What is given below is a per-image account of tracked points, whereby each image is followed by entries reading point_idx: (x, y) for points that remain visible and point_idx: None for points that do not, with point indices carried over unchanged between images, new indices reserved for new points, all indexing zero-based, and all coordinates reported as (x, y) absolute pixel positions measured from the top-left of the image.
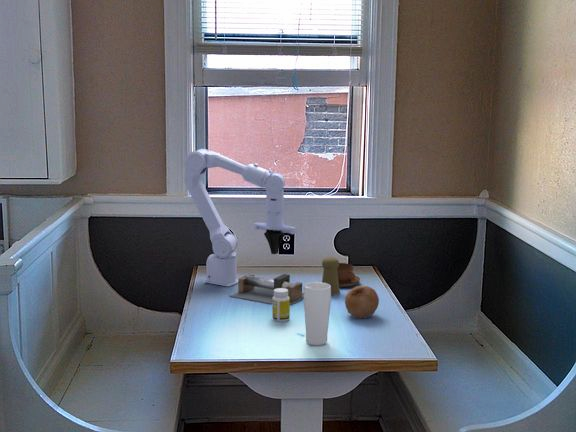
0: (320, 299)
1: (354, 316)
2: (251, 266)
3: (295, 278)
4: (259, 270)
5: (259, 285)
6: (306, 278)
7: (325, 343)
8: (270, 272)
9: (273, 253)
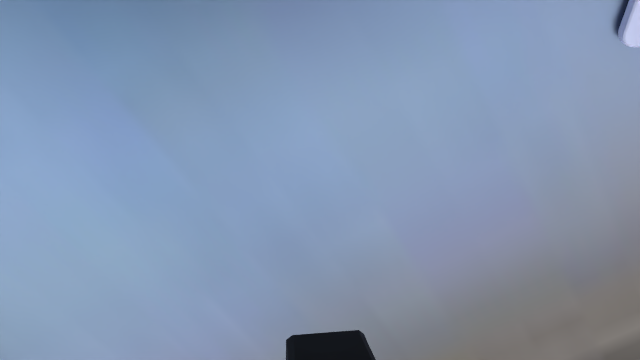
0: None
1: None
2: (637, 356)
3: (233, 316)
4: (560, 325)
5: None
6: (163, 351)
7: None
8: (470, 329)
9: (316, 342)
